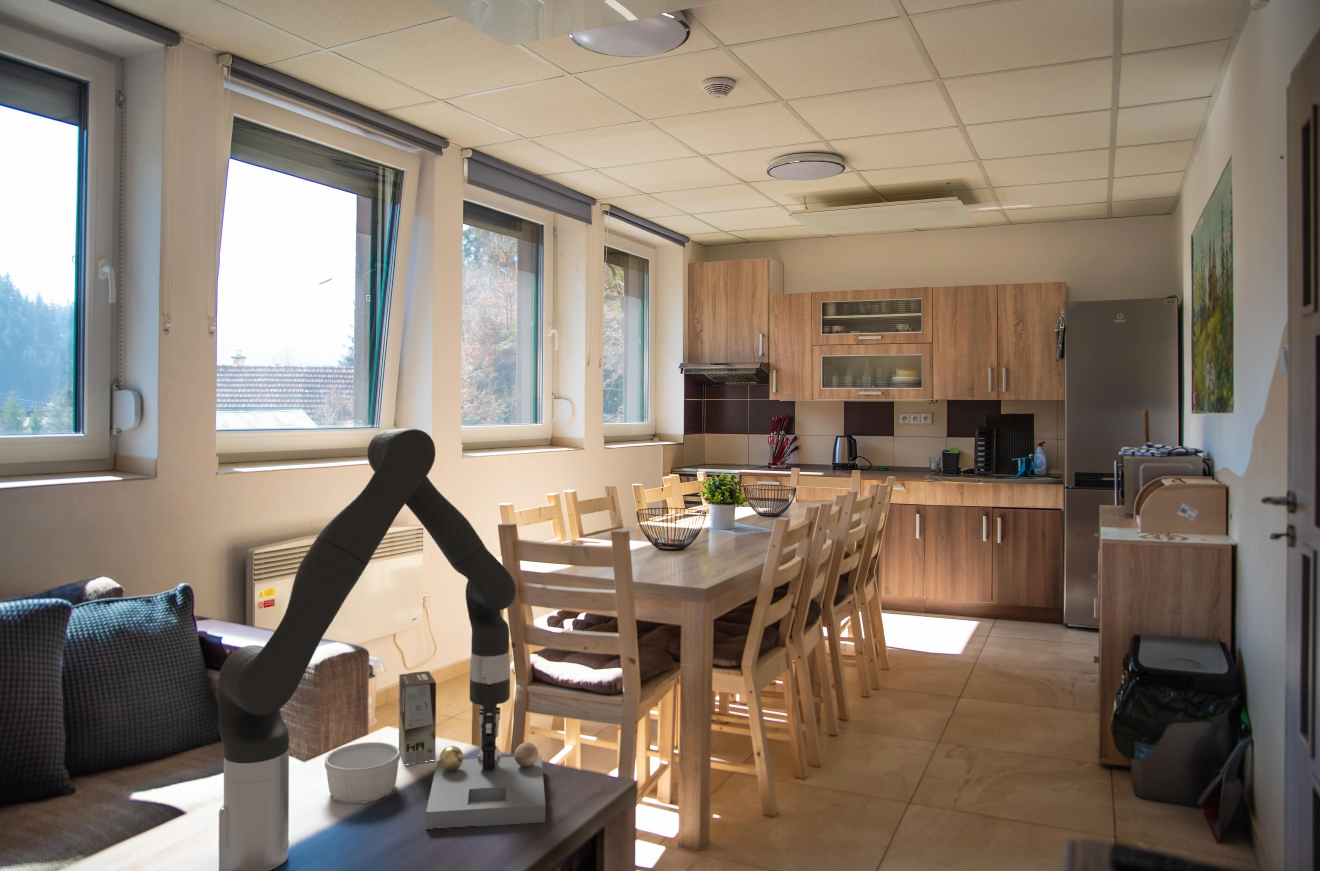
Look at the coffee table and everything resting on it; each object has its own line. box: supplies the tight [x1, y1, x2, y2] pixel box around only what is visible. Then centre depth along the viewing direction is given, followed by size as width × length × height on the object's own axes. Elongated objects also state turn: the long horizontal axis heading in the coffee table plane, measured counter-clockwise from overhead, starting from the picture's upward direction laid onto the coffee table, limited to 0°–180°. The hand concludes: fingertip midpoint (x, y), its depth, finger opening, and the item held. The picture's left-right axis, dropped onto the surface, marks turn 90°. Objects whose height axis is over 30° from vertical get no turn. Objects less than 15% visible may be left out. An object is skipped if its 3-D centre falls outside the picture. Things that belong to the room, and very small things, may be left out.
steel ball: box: [476, 745, 502, 768], centre depth 165 cm, size 4×4×4 cm
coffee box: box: [398, 670, 437, 766], centre depth 178 cm, size 9×6×16 cm
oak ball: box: [514, 741, 539, 767], centre depth 166 cm, size 4×4×4 cm
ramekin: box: [324, 741, 401, 804], centre depth 161 cm, size 13×13×7 cm
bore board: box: [425, 755, 546, 829], centre depth 159 cm, size 20×22×3 cm
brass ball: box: [438, 745, 465, 771], centre depth 164 cm, size 4×4×4 cm
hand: (489, 764), depth 165 cm, fingers closed on steel ball, 4 cm apart
